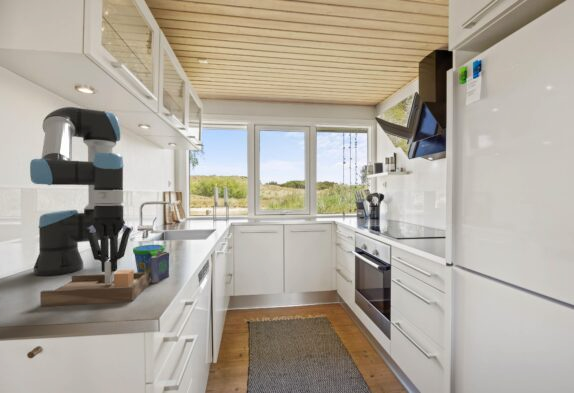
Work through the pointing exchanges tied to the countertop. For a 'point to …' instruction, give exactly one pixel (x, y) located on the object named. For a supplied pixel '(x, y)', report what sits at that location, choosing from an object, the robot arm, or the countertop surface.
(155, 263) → the purple carton
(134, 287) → the wooden tray
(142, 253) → the snack cup
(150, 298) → the countertop surface
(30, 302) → the countertop surface
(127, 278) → the block
